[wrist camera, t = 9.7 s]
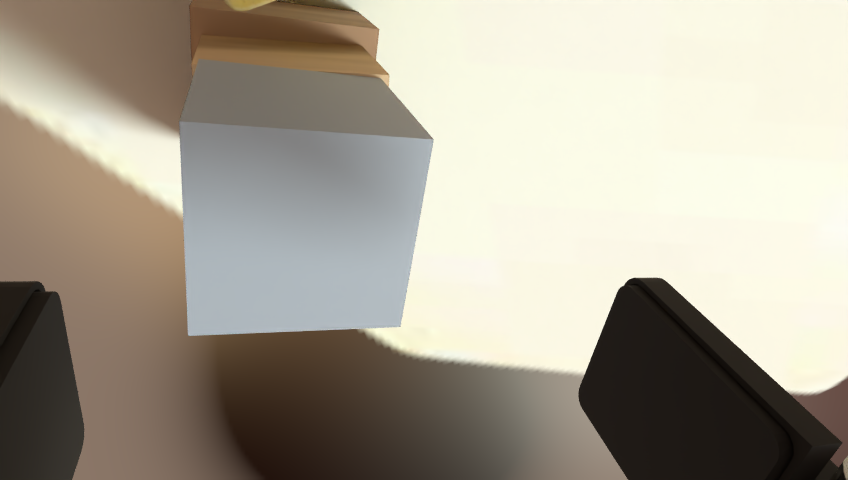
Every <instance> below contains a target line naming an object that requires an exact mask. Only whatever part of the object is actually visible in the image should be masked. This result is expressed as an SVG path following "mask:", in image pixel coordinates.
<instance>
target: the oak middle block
mask: <svg viewBox="0 0 848 480" xmlns="http://www.w3.org/2000/svg"><path fill="white" fill-rule="evenodd" d="M199 59H205V60H215V61H224V62H234V63H243V64H252V65H262V66H271V67H281V68H290V69H299V70H309V71H318V72H328V73H337V74H347V75H356V76H365V77H375V78H381V79H382V80H383V81H384V83H385V84H386V85H387V86H388V87H389V74H388V73H387V72H386V71H385V70H384V69H383V68H382V67H381V65H380V64H379V63H378V62H377V61H376V60H375V59H374V58H373V57H372V56H371V55H370V54H369V53H368V52H367V51H366V49H365V48H364V47H363V46H360V45H345V44H330V43H316V42H301V41H286V40H272V39H257V38H242V37H228V36H213V35H201V38H200V41H199V44H198V46H197V49H196V52H195V55H194V58H193V61H192V63H191V69H192V79H193V76H194V73H195V69H196V66H197V63H198V60H199Z"/></svg>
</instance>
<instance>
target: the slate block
mask: <svg viewBox="0 0 848 480" xmlns="http://www.w3.org/2000/svg"><path fill="white" fill-rule="evenodd" d="M179 127H180V151H181V174H182V198H183V222H184V245H185V270H186V294H187V315H188V316H187V317H188V336H193V335H217V334H241V333H264V332H289V331H312V330H336V329H361V328H385V327H400V326H401V320H402V314H403V309H404V303H405V298H406V292H407V286H408V281H409V275H410V269H411V264H412V258H413V253H414V247H415V241H416V236H417V230H418V225H419V219H420V213H421V208H422V202H423V196H424V191H425V185H426V180H427V174H428V168H429V163H430V157H431V152H432V146H433V140H434V139H433V138H432V137H431V136H430V135H429V134H428V132H427V131H426V130H425V129H424V128H423V127H422V125H421V124H420V123H419V122H418V121H417V120H416V119H415V117H414V116H413V115H412V114H411V113H410V112H409V110H408V109H407V108H406V107H405V106H404V105H403V103H402V102H401V101H400V100H399V99H398V98H397V96H396V95H395V94H394V93H393V92H392V91H391V90H390V88H389V87H388V86H387V85H386V84H385V83H384V81H383V80H382V79H381V78H375V77H365V76H356V75H347V74H337V73H328V72H318V71H309V70H299V69H290V68H281V67H271V66H262V65H252V64H243V63H234V62H224V61H215V60H205V59H199V60H198V63H197V66H196V69H195V73H194V76H193V79H192V82H191V85H190V89H189V92H188V95H187V98H186V101H185V105H184V108H183V111H182V114H181V117H180V120H179Z"/></svg>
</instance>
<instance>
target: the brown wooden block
mask: <svg viewBox="0 0 848 480" xmlns="http://www.w3.org/2000/svg"><path fill="white" fill-rule="evenodd" d="M189 9H190V33H191V57H192V61H193V58H194V55H195V52H196V49H197V46H198V44H199V41H200V38H201V35H213V36H228V37H242V38H257V39H272V40H286V41H301V42H316V43H330V44H345V45H360V46H363V47H364V48H365V49H366V51H367V52H368V53H369V54H370V55H371V56H372V57H373V58H374V59H375V60H376V53H377V44H378V35H379V29H378V28H377V27H376V26H374V25H373V24H372V23H371V22H370V21H368V20H367V19H366V18H365V17H363V16H362V15H361V14H360V13H359V12H355V11H347V10H339V9H332V8H324V7H316V6H309V5H301V4H294V3H286V2H278V1H273V2H270V3H268V4H265V5H262V6H259V7H256V8H253V9H251V10H247V11H236V10H233V9H232V8H230V7H229V6H228V5H227V4H226V3H225V1H224V0H193V1H192V3H191V4H190V6H189Z"/></svg>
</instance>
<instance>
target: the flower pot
mask: <svg viewBox="0 0 848 480" xmlns="http://www.w3.org/2000/svg"><path fill="white" fill-rule="evenodd" d="M224 1H225V3H226V4H227V5H228V6H229V7H230V8H232V9H233V10H236V11H247V10H251V9H253V8H256V7H259V6H262V5H265V4H268V3H270V2H273V1H276V0H224Z"/></svg>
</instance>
